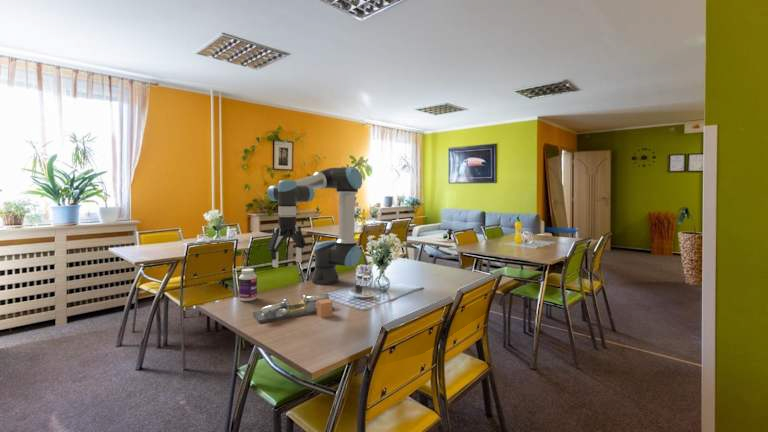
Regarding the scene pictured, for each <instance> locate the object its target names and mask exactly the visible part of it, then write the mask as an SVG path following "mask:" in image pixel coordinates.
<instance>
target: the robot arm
mask: <svg viewBox="0 0 768 432" xmlns="http://www.w3.org/2000/svg"><path fill="white" fill-rule="evenodd" d="M362 185H363V177H362V173H361V172H360V170H359V169H358V168H356V167H351V166H349V167H330V168H326V169H322V170H320V171H315V172H314V173H313V175H309V176H306V177H302V178H298V179H295V180H290V179H289V180H288V179H287V180H283V179H282V180H279V182H278V184H273V185H270V186H269V187H268V188H267V198H268V199H269V200H270V201H272V202H278V206H277V207H278V210H277V211H278V212H277V214H278V218H277V219H278V221H277V222H278V223H277V224H278V225H279V228H276V227H274V228H272V235H271V238H270V240H269V243H268V246H267V248H266V250H267V251H269V252H270V256H271V260H272V263H271V264H272V265H271V266H272V267H273V268H277V269H278V268H279V251H278V249H280V246H281V245H282V243H283V242H284V240H286V239H288V238H291V239H292V241H293V243H294V244H295V245H296V247H295V262H296V263H302V255H303V249H304V248H305V246H306V245H307V243H306V240H305V238H304V235H303V233H302V229H301V226H299V225H297V203H308V202H312V201H313V200H314V198H315V195H316V194H315V190H324V189H336V193H337V194H338V239H337V240H325V241H319V242H316V244H315V246H314V271H313V273H312V274H313V275H312V277H311V282H312V283H313V284H314V285H322V286H323V285H334V284H337V283H338V282H340V281H339V280H340V278H339V273H338V271H337V266H342V267H343V266H344V267H354V266H356V265H357V264H358V262H359V261H360V259H361V256H362V255H361V254H362V250H361V247H360V245H358V241H357V240H356V239H355V217H356V216H355V213H356V212H355V210H356V209H355V206H356V204H355V203H356V200H355V199H356V195H357V194H358V192H359V189H361V187H362Z"/></svg>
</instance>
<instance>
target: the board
mask: <svg viewBox="0 0 768 432" xmlns="http://www.w3.org/2000/svg"><path fill="white" fill-rule="evenodd" d="M289 305H290V307H289V308H288V307H287V310H286V311H284V310H283V309H281V310H278V311H277V317H276V318H273V319H268V318H265V317H264V315H262V314H261V312H260V310H258V311H257V310H256V311H253V312H252V316H253V318H255V320H256V322H257V323H258V322H259V323H258V324H263V323H268V322H274V321H280V320H284V319H291V318H296V317H302V316H308V315H312V314H313V315H314V314H317V305H316V304H315V302H313V303H307V306H306V303H305V302H303V301H302V298H299V299H298V302H297V303H291V304H290V303H289ZM334 309H335V307H334V306H333V305H332V311H334Z"/></svg>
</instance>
